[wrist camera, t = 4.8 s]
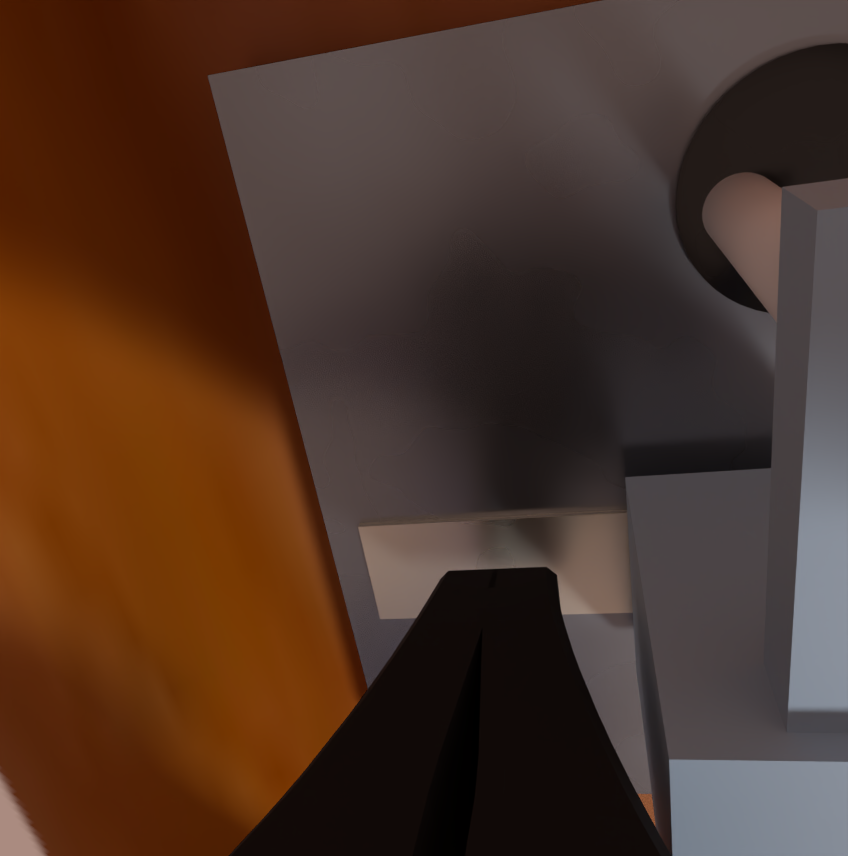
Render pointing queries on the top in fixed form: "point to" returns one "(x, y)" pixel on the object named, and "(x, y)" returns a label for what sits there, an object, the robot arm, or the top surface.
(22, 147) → the top surface
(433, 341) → the bolt plate
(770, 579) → the sliding leg
